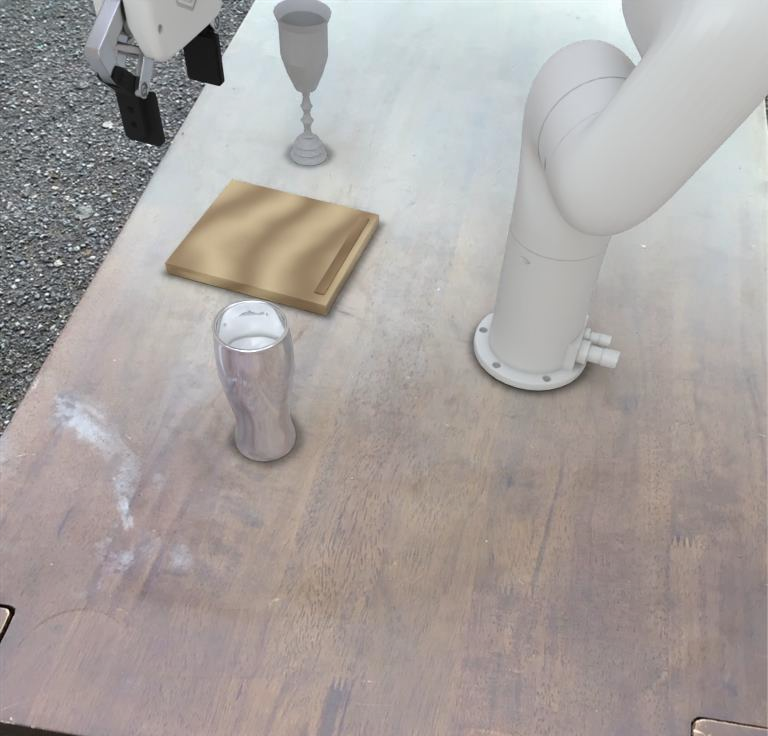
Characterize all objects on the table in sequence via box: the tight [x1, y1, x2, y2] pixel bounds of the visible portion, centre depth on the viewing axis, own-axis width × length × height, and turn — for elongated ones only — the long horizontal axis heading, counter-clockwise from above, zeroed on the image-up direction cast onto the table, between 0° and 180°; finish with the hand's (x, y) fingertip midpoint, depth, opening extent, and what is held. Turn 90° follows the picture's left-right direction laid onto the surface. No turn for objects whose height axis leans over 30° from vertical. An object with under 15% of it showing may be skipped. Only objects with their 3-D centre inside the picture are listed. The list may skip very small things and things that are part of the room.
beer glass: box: [211, 298, 297, 463], centre depth 75 cm, size 7×7×15 cm
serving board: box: [164, 178, 380, 317], centre depth 98 cm, size 20×18×2 cm
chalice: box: [272, 0, 332, 166], centre depth 103 cm, size 7×7×18 cm
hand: (177, 110), depth 65 cm, fingers open, 9 cm apart
